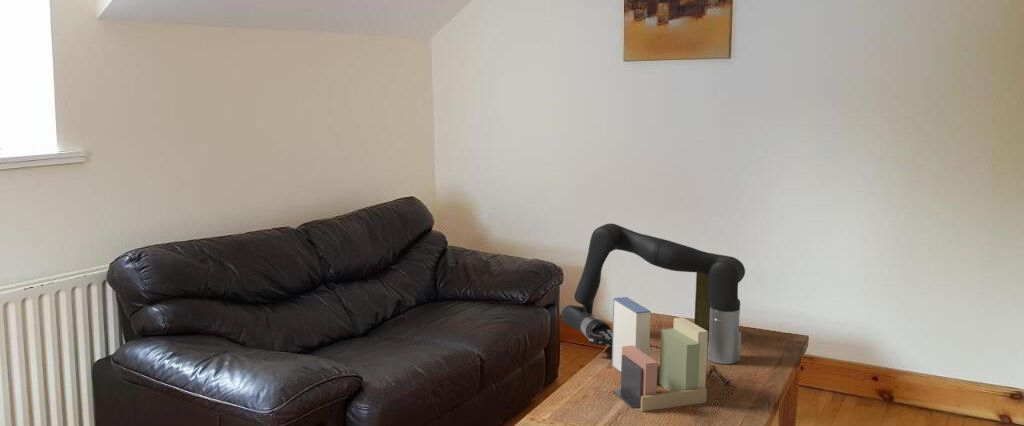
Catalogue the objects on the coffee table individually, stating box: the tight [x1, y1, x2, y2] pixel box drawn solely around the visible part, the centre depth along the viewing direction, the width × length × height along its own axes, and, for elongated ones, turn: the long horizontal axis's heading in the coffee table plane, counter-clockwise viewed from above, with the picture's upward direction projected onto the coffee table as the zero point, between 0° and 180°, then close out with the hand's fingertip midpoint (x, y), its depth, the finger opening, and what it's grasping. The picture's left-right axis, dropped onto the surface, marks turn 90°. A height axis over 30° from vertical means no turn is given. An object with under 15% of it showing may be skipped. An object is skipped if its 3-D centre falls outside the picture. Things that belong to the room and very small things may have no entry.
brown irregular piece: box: [706, 364, 731, 386], centre depth 256 cm, size 2×8×4 cm, turn 32°
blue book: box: [611, 296, 651, 374], centre depth 261 cm, size 5×16×22 cm, turn 18°
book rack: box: [622, 316, 708, 412], centre depth 243 cm, size 21×16×20 cm
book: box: [693, 272, 710, 340], centre depth 300 cm, size 16×6×25 cm, turn 168°
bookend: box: [612, 355, 643, 409], centre depth 242 cm, size 3×12×11 cm, turn 18°
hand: (617, 345), depth 270 cm, fingers closed
